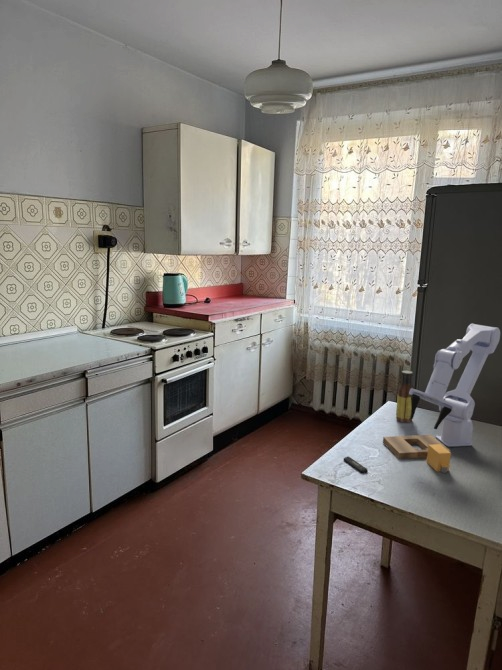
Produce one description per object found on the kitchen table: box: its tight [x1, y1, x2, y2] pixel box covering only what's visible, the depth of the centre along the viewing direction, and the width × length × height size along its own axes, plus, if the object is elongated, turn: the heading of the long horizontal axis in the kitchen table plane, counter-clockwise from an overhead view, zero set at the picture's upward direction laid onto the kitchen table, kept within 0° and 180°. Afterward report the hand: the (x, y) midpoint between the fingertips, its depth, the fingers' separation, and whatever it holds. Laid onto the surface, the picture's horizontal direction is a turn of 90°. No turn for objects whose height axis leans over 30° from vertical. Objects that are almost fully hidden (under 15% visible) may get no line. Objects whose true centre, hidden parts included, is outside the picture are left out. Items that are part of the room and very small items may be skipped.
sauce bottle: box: [395, 370, 415, 423], centre depth 179 cm, size 6×6×20 cm
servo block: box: [426, 444, 452, 474], centre depth 144 cm, size 4×9×6 cm, turn 9°
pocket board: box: [382, 434, 451, 460], centre depth 156 cm, size 18×12×2 cm, turn 99°
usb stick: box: [343, 456, 369, 475], centre depth 144 cm, size 10×3×2 cm, turn 26°
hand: (423, 423), depth 146 cm, fingers open, 7 cm apart
